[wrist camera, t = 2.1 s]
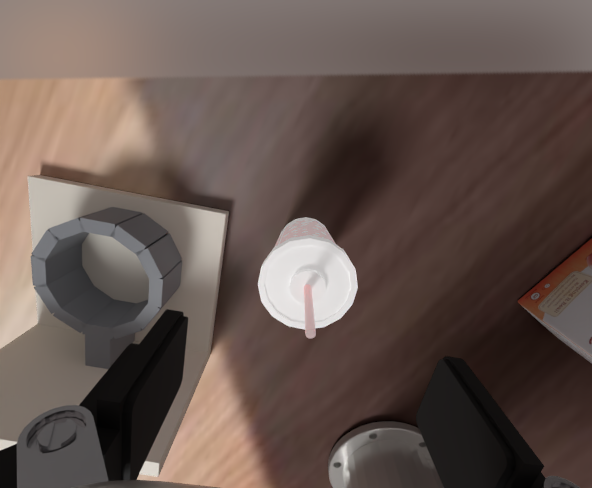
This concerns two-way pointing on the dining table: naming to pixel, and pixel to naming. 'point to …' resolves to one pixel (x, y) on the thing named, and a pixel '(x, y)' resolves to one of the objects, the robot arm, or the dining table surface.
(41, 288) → the bracket
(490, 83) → the dining table surface
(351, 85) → the dining table surface
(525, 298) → the cracker box
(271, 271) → the beverage cup
